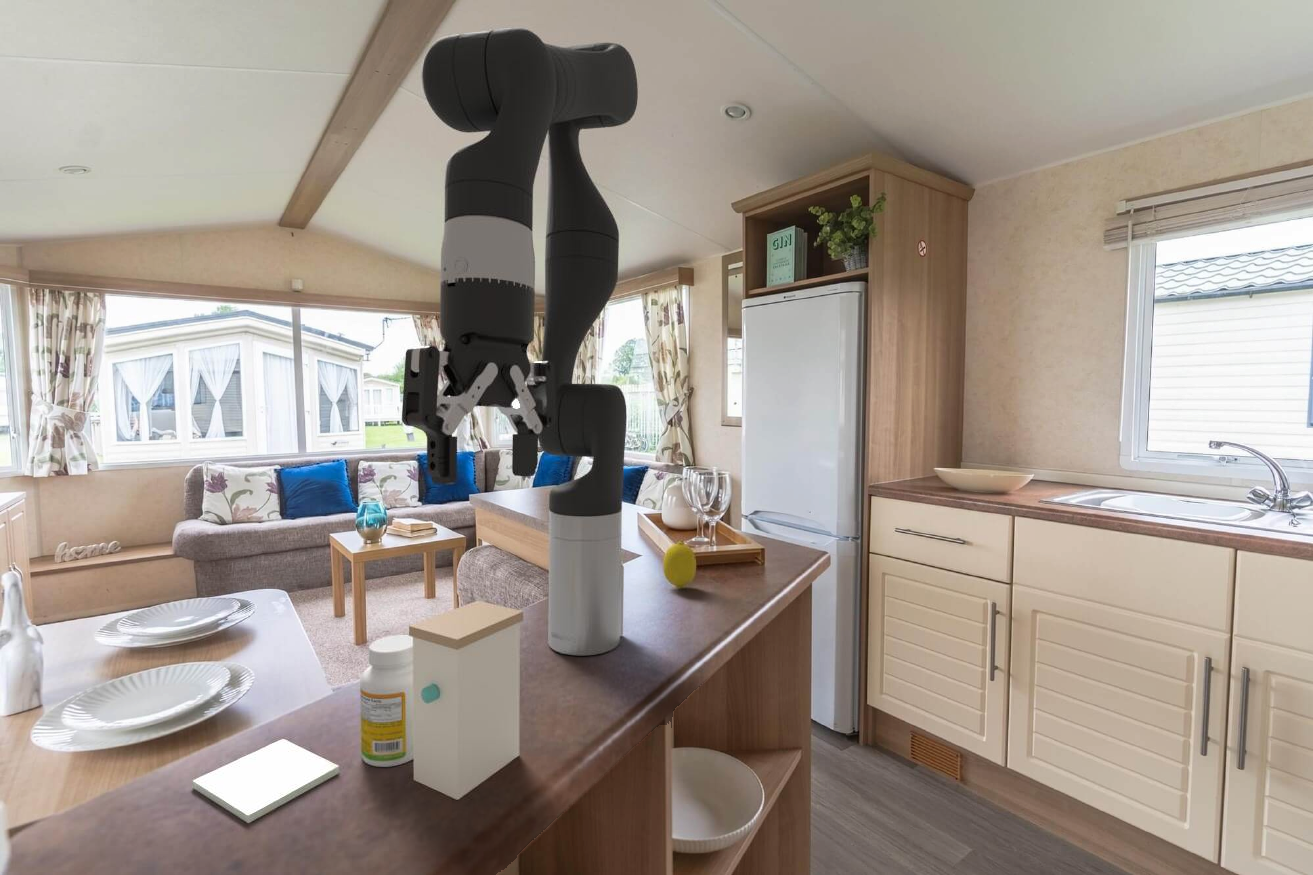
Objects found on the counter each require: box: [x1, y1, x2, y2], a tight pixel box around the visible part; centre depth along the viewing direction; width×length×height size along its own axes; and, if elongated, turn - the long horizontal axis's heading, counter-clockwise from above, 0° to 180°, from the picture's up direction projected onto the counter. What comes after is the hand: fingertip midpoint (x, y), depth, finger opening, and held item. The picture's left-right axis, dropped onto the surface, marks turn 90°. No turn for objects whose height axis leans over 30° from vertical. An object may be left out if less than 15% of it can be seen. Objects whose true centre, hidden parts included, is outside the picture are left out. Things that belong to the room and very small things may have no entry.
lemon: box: [662, 541, 697, 590], centre depth 102 cm, size 6×6×8 cm
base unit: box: [408, 600, 524, 801], centre depth 51 cm, size 8×5×13 cm
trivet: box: [192, 738, 340, 824], centre depth 49 cm, size 7×8×1 cm
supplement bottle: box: [359, 634, 414, 768], centre depth 53 cm, size 5×5×10 cm
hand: (486, 479), depth 51 cm, fingers open, 8 cm apart
